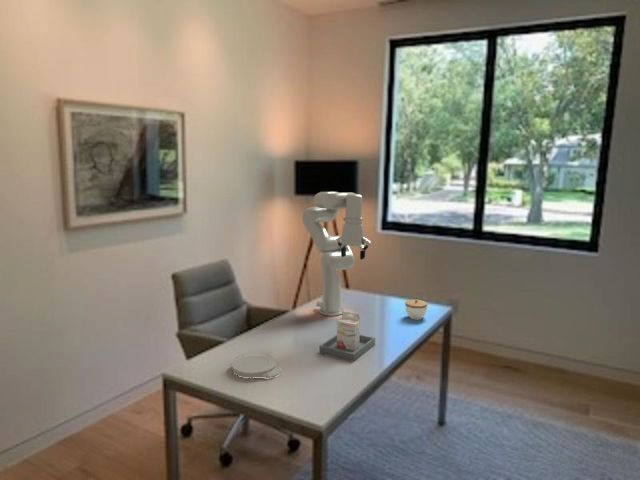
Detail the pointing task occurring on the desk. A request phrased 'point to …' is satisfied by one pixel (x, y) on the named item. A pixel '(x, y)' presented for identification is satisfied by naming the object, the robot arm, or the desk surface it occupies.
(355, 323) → the ink cartridge box
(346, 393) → the desk surface
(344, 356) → the tray
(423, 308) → the lidded jar
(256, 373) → the lid
